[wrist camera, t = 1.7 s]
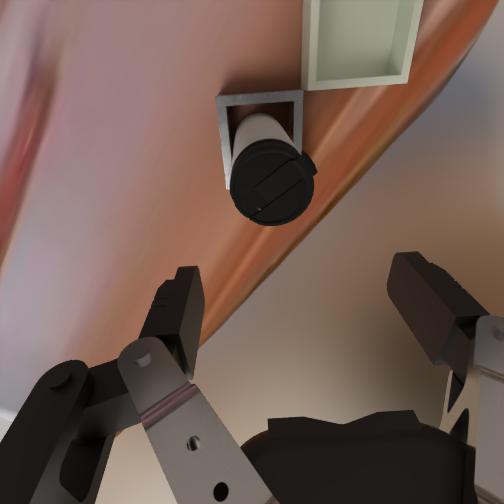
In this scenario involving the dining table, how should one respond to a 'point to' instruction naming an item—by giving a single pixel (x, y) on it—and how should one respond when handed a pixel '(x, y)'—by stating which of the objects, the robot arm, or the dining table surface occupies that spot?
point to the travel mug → (269, 172)
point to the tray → (357, 42)
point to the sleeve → (256, 98)
